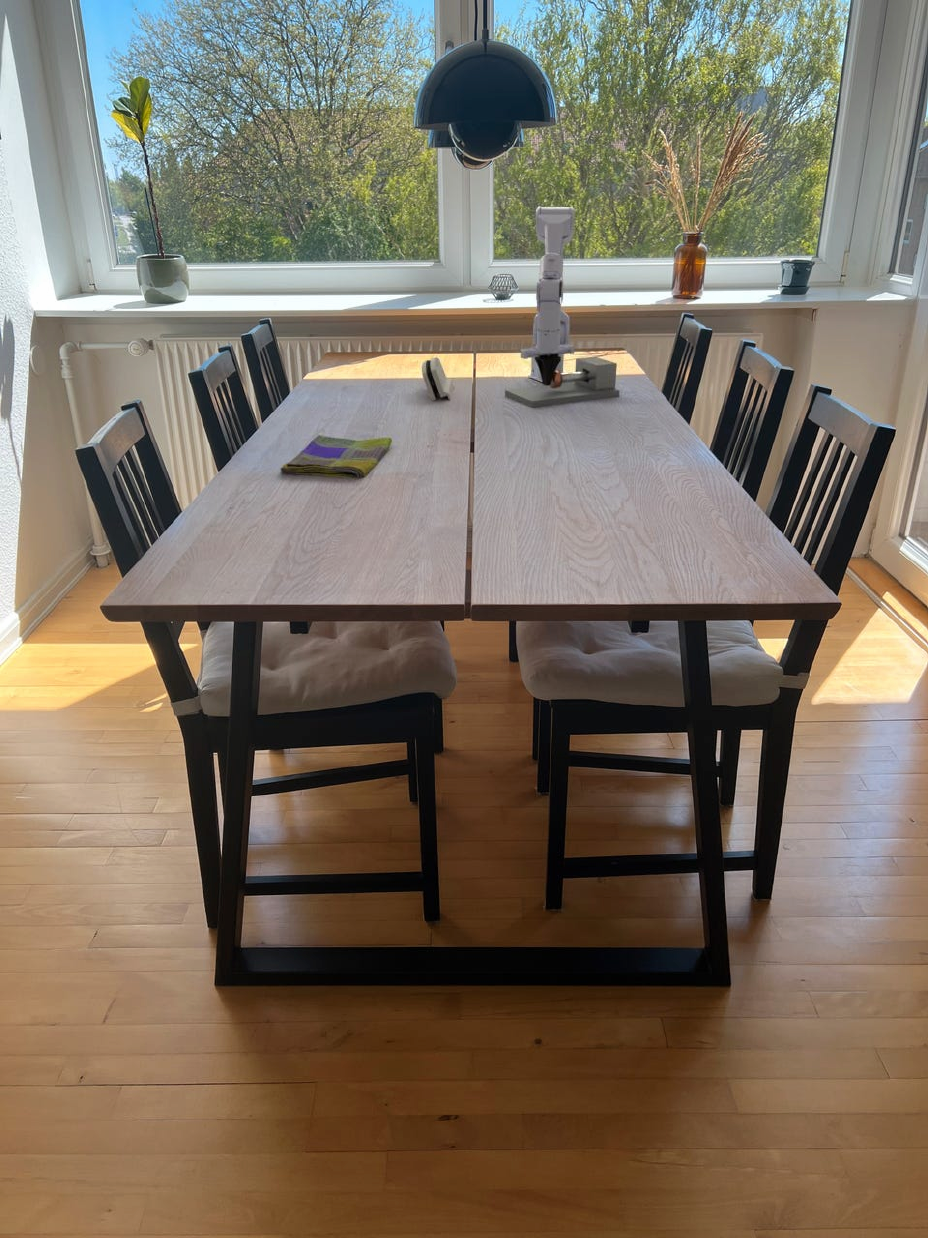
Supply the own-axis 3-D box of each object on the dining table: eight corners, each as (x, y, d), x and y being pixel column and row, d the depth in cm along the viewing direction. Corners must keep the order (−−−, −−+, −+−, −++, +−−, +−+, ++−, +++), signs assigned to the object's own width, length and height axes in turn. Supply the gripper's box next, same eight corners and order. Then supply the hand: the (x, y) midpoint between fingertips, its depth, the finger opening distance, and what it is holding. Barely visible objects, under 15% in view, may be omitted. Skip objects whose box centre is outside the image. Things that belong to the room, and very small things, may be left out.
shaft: (547, 386, 241) (548, 369, 239) (595, 380, 247) (596, 363, 245) (556, 389, 237) (557, 372, 236) (604, 383, 243) (605, 366, 241)
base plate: (504, 395, 242) (505, 389, 241) (589, 385, 252) (589, 379, 252) (531, 407, 231) (531, 401, 230) (619, 395, 241) (619, 390, 240)
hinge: (451, 400, 238) (437, 362, 234) (433, 406, 239) (419, 369, 235) (453, 385, 253) (440, 350, 249) (437, 391, 254) (424, 356, 250)
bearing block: (574, 383, 248) (576, 358, 245) (593, 381, 250) (595, 356, 247) (595, 391, 240) (597, 365, 237) (615, 388, 242) (616, 363, 239)
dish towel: (396, 447, 202) (395, 435, 201) (362, 482, 181) (361, 468, 179) (319, 443, 205) (319, 431, 204) (277, 477, 184) (276, 463, 183)
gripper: (531, 334, 226) (529, 390, 232) (581, 329, 232) (579, 384, 238) (517, 330, 232) (516, 384, 238) (567, 325, 237) (564, 379, 243)
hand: (546, 384), depth 238 cm, fingers closed
